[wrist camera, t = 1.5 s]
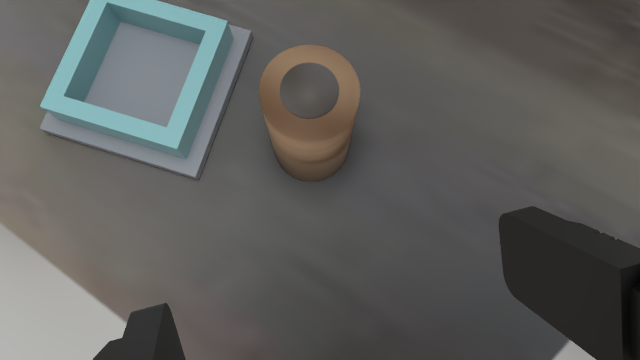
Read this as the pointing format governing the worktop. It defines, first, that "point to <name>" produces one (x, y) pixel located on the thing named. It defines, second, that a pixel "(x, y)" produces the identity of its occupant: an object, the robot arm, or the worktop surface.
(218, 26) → the socket block
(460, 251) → the worktop surface
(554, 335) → the worktop surface
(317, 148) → the brown grey-topped cylinder
